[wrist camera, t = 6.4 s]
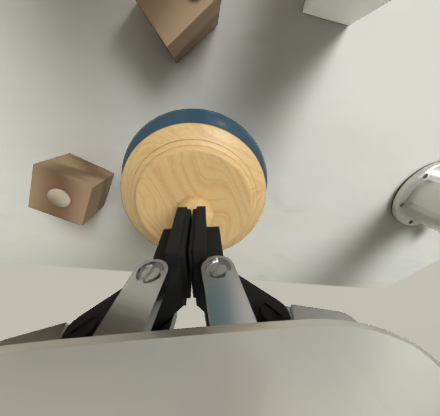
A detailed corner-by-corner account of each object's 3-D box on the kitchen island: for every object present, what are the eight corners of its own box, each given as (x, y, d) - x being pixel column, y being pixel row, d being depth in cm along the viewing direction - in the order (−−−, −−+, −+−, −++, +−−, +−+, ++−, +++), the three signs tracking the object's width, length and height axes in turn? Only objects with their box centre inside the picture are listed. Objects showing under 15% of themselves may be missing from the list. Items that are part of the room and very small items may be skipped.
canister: (244, 193, 30) (288, 282, 14) (167, 203, 30) (127, 304, 14) (240, 104, 24) (310, 89, 8) (143, 116, 23) (21, 124, 8)
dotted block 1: (114, 173, 27) (91, 189, 21) (104, 204, 29) (81, 226, 23) (69, 153, 25) (31, 164, 19) (62, 188, 27) (27, 207, 22)
